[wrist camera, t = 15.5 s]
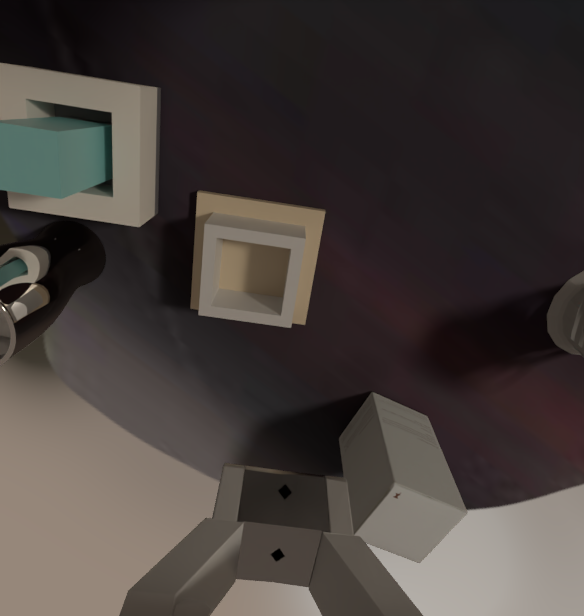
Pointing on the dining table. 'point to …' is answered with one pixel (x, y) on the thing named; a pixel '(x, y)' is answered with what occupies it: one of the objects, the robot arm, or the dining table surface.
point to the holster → (254, 259)
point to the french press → (568, 316)
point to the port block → (125, 139)
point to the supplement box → (398, 480)
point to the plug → (54, 155)
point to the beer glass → (43, 280)
